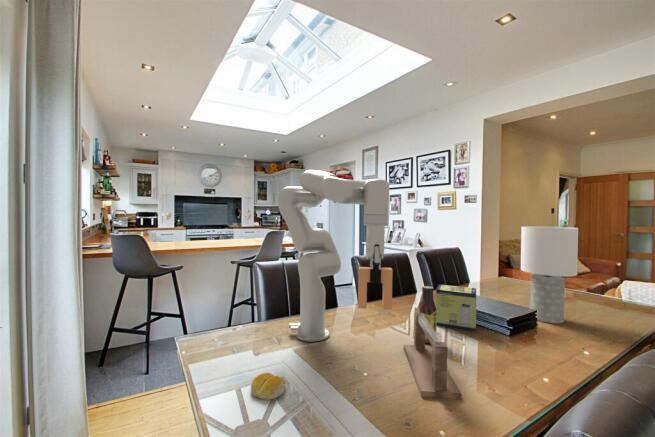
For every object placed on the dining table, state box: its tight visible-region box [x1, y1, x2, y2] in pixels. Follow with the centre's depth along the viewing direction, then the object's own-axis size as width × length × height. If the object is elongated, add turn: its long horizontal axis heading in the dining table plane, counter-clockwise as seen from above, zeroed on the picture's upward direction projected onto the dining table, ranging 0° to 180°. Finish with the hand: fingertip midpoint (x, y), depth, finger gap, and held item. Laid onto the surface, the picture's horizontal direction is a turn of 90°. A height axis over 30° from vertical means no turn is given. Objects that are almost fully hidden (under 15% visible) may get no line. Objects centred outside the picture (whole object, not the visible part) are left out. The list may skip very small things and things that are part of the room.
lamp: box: [520, 225, 579, 325], centre depth 138 cm, size 21×21×42 cm
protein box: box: [435, 284, 477, 333], centre depth 130 cm, size 10×16×16 cm
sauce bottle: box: [418, 285, 438, 344], centre depth 114 cm, size 7×6×20 cm
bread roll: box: [250, 372, 287, 401], centre depth 81 cm, size 8×9×4 cm
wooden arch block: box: [357, 266, 393, 311], centre depth 93 cm, size 10×3×12 cm, turn 85°
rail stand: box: [403, 312, 462, 400], centre depth 92 cm, size 10×28×13 cm, turn 175°
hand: (374, 280), depth 93 cm, fingers closed on wooden arch block, 3 cm apart
